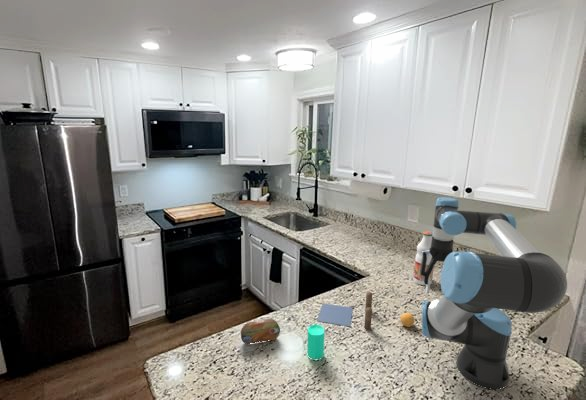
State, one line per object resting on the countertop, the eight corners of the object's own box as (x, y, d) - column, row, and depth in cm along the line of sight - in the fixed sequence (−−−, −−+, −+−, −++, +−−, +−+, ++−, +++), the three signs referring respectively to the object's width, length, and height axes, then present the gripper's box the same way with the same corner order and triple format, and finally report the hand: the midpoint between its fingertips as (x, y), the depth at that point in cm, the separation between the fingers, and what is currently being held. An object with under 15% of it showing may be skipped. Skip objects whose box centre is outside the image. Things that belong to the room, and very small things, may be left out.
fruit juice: (426, 287, 159) (432, 237, 153) (409, 280, 166) (414, 232, 160) (435, 282, 165) (441, 233, 158) (418, 275, 172) (423, 228, 165)
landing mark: (350, 326, 127) (350, 326, 127) (317, 321, 130) (317, 320, 130) (352, 308, 140) (352, 307, 140) (322, 303, 143) (322, 303, 143)
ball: (414, 330, 124) (416, 318, 123) (400, 328, 126) (401, 316, 125) (413, 322, 130) (414, 311, 128) (399, 320, 131) (400, 309, 130)
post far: (371, 313, 136) (372, 295, 134) (365, 312, 137) (366, 294, 135) (371, 310, 138) (372, 292, 136) (365, 309, 139) (366, 291, 137)
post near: (370, 330, 124) (372, 311, 122) (364, 329, 125) (365, 310, 123) (370, 327, 127) (372, 307, 125) (364, 326, 127) (365, 306, 125)
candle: (313, 346, 115) (314, 318, 112) (326, 354, 111) (327, 325, 108) (303, 355, 110) (304, 326, 107) (317, 363, 106) (318, 333, 104)
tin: (241, 347, 114) (240, 327, 113) (240, 341, 117) (239, 322, 116) (280, 340, 118) (280, 321, 116) (278, 335, 121) (278, 316, 119)
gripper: (467, 236, 118) (459, 291, 123) (415, 232, 122) (410, 285, 127) (472, 243, 111) (464, 300, 116) (418, 238, 115) (412, 294, 120)
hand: (435, 292), depth 122 cm, fingers open, 6 cm apart
